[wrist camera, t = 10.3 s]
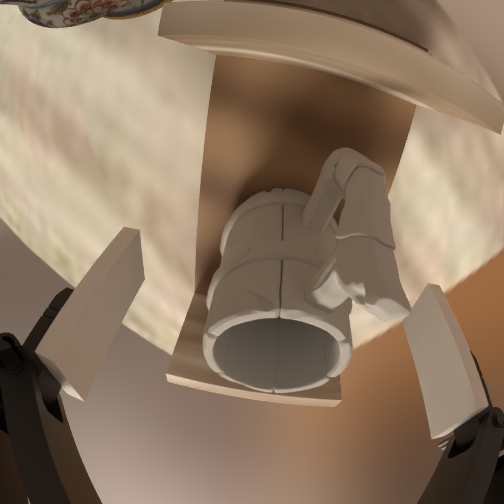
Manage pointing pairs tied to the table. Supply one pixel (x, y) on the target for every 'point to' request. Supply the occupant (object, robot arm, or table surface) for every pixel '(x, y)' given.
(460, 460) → the robot arm
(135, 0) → the apothecary jar
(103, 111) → the table surface
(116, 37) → the table surface
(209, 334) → the mug
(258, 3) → the shelf
